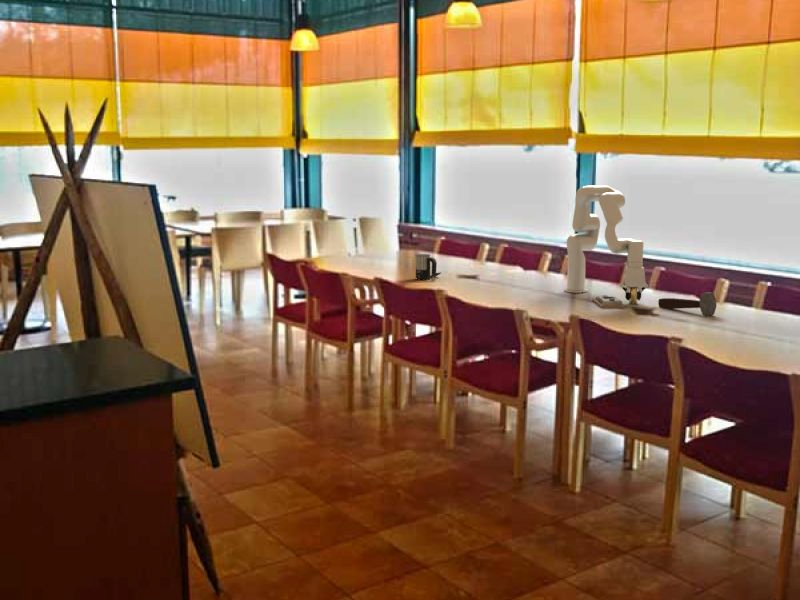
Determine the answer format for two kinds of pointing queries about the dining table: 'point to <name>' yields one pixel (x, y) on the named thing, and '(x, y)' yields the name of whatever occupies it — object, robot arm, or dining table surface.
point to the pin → (633, 295)
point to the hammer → (692, 303)
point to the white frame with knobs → (608, 302)
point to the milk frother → (425, 266)
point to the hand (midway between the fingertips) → (633, 299)
